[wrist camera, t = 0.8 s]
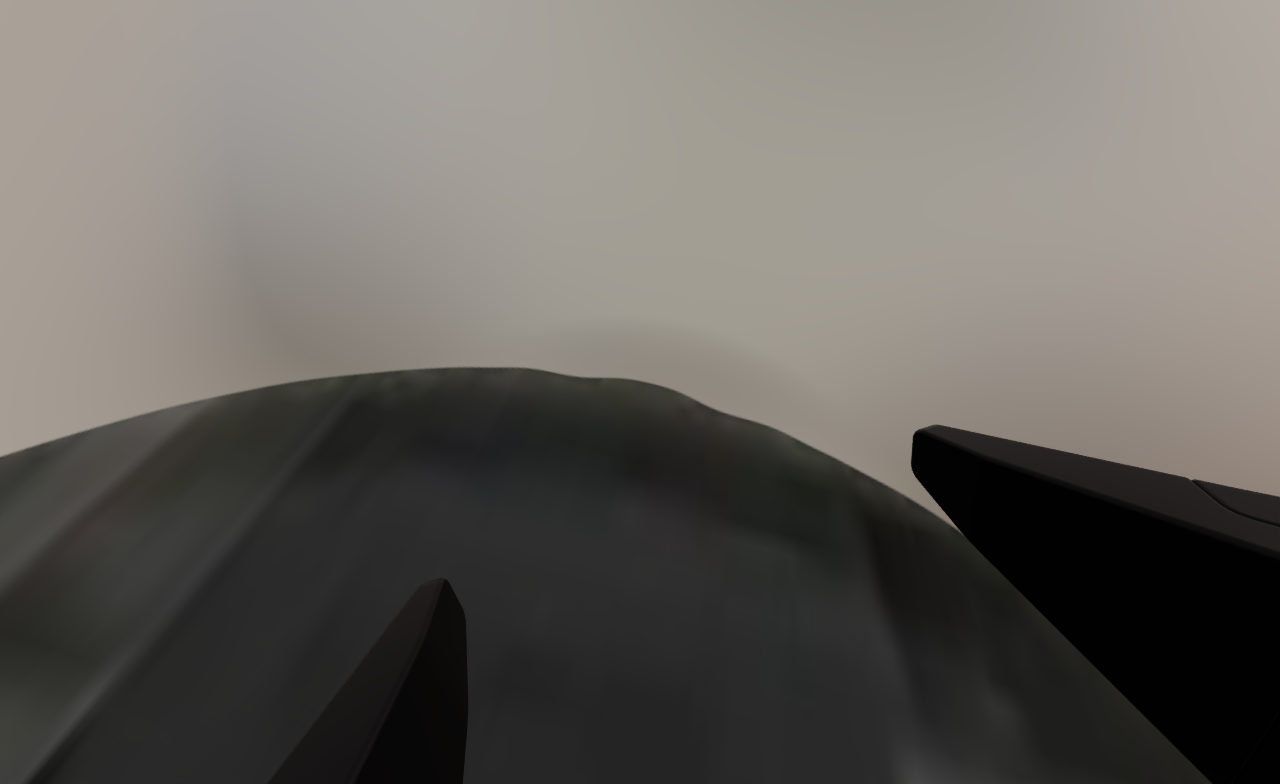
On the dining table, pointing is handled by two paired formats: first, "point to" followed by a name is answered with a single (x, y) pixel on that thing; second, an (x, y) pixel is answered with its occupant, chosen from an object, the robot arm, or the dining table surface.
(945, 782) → the dining table surface
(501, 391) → the dining table surface
